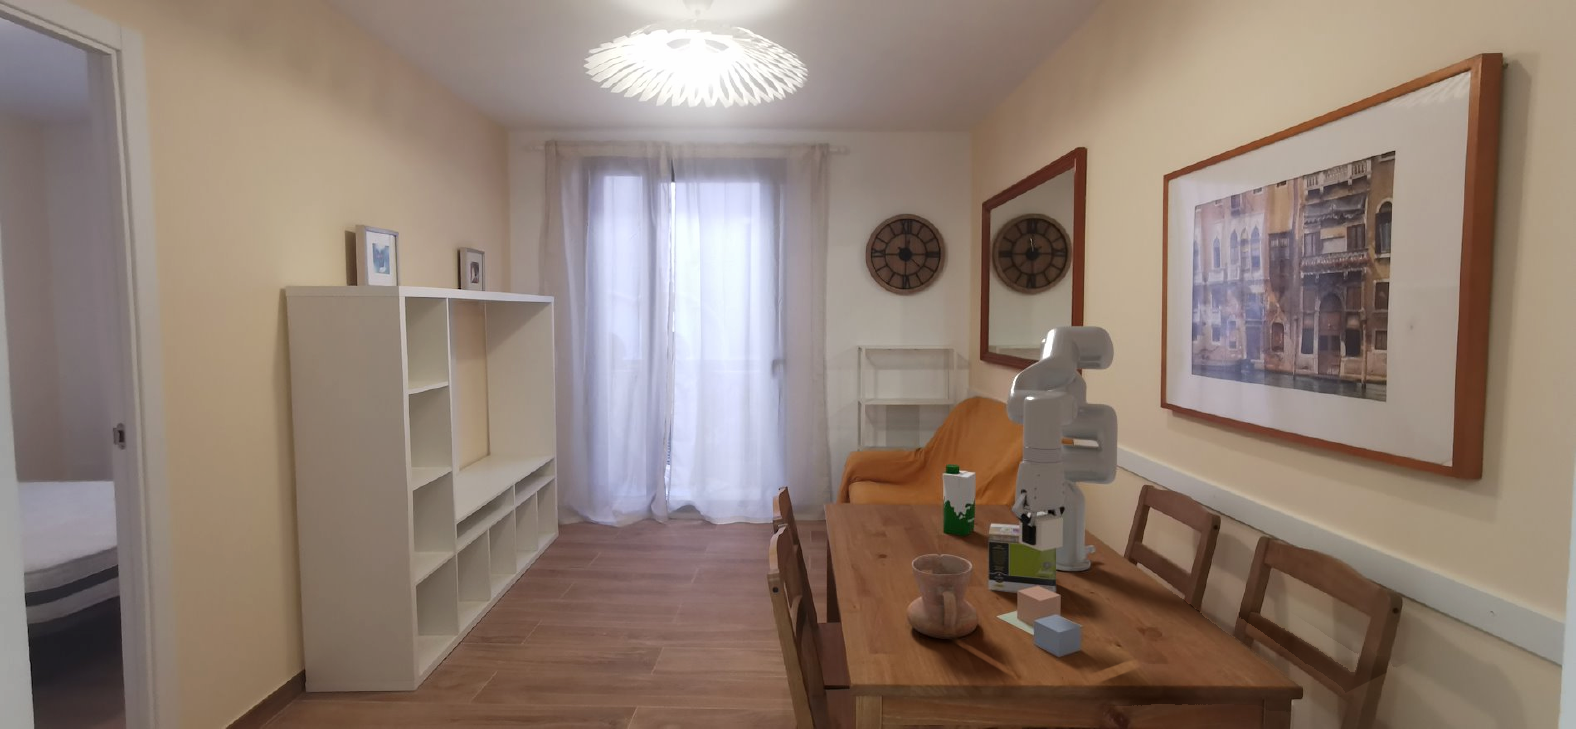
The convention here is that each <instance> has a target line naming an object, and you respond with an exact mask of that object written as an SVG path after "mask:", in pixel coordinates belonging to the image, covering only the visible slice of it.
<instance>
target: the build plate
mask: <svg viewBox="0 0 1576 729" xmlns="http://www.w3.org/2000/svg"><path fill="white" fill-rule="evenodd" d="M995 617H996V618H998V619H1000V620H1002V621H1004V622H1005V623H1008V624H1010V625H1012V626H1014V627H1016V628H1018V629H1020V630H1022V631H1024V632H1026V633H1028V634H1030V635H1032V636H1034V627H1033V626H1031V625H1029V624H1027V623H1025V622H1023V621H1021V620H1019V619H1017V610H1014V611H1011V612H1007V613H1003V614H1000V615H997V616H995ZM1064 618H1065V617H1064ZM1065 619H1067V618H1065ZM1067 620H1069V621H1071V620H1070V619H1067ZM1075 623H1076V622H1075ZM1076 624H1078V623H1076ZM1078 625H1080V626H1081V628H1082V627H1083V626H1082V625H1081V624H1078Z"/></svg>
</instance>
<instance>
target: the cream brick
mask: <svg viewBox="0 0 1576 729" xmlns="http://www.w3.org/2000/svg"><path fill="white" fill-rule="evenodd" d="M1030 514H1031V513H1029V512H1028V515H1027V516H1028V517H1029V518H1030ZM1018 520H1019V519H1018ZM1018 525H1019V543H1021V544H1024V545H1026V546H1029V547H1032V548H1035V549H1037V550H1040V551H1044V550H1049V549H1053V548H1058V547H1062V543H1063V518H1062V517H1059V516H1055V515H1052V514H1049V513H1046V511H1042V512H1037V516H1036V519H1035V522H1034V526H1036V545H1030V544H1027V543H1024V542H1022V523H1020V520H1019V523H1018Z"/></svg>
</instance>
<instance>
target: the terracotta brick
mask: <svg viewBox="0 0 1576 729" xmlns="http://www.w3.org/2000/svg"><path fill="white" fill-rule="evenodd" d="M1061 598H1062V596H1061V594H1059V593H1057V592H1056V593H1054V592H1052V591H1049V590H1047V589H1045V588H1042V587H1040V586H1035V587H1031V588H1027V589H1023V590H1019V591H1018V593H1017V604H1016V605H1017V606H1016V608H1017V609H1016V611H1017V619H1019V620H1021V621H1023V622H1025V623H1027V624H1029V625H1031V626H1033V627H1034V620H1038V619H1041V618H1045V617H1048V616H1052V615H1055V614H1056V615H1058V616H1061V604H1062V603H1061V601H1062V599H1061Z"/></svg>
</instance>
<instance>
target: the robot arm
mask: <svg viewBox="0 0 1576 729" xmlns="http://www.w3.org/2000/svg"><path fill="white" fill-rule="evenodd" d="M1039 344H1040V345H1039V354H1040V356H1039V360H1038V361H1037V362H1035V363H1033V364H1031V365H1029V366H1028V367H1026V368H1025V369H1024V370H1022V371H1021V372H1019V373H1018V374H1017V375H1016V376H1015V377H1014V378H1013V380H1012V382H1011V385H1010V389H1009V392H1008V395H1007V400H1006V406H1005V407H1006V410H1005V411H1006V415H1007V418H1008V419H1009V420H1010V421H1011V422H1013V423H1014V424H1016V425H1017V424H1018V425H1023V426H1022V427H1023V429H1022V436H1023V437H1022V461H1020V462H1019V465H1018V470H1017V474H1016V475H1017V476H1016V483H1015V494H1014V495H1015V496H1014V505H1013V506H1012V508H1011V511H1012V513H1014V515H1015V516H1016V518H1017V519H1018V520H1020V523H1022V542H1024V543H1027V544H1030V545H1036V526H1034V522H1035V519H1036V516H1037V512H1045V513H1049V514H1052V515H1055V516H1059V517H1062V518H1063V543H1062V547H1058V548H1056V571H1058V570H1059V571H1063V572H1064V571H1066V572H1081V571H1086V570H1088V569H1090V568H1091V560H1090V559H1089V558H1087V556H1088V554H1092V553H1095V552H1096V547H1095V545H1093V544H1091V545H1085V544H1086V542H1085V541H1086V540H1085V539H1086V538H1085V537H1086V536H1085V534H1086V498H1085V495H1084V493H1083V491H1082V489H1080V487H1079V486H1078V485H1077V483H1085V484H1094V485H1095V484H1096V485H1110V484H1112V483H1113V482H1114V481H1115V479H1116V476H1117V470H1118V468H1117V467H1118V429H1119V428H1118V416H1117V412H1116V410H1115V409H1114V407H1112V406H1111V405H1109V404H1104V403H1089V402H1088V401H1087V382H1086V381H1085V379H1084V377H1083V376H1082V375H1081V373H1080V372H1079V371H1078V370H1095V371H1096V370H1107V369H1108V368H1110V366H1111V365H1112V363H1113V361H1114V355H1115V350H1114V344H1113V340H1112V338H1111V336H1110V334H1109V333H1108V331H1107V330H1106V329H1104V328H1103V327H1100V326H1095V325H1094V326H1092V325H1091V326H1089V325H1088V326H1087V325H1086V326H1085V325H1083V326H1082V325H1080V326H1079V325H1077V326H1074V325H1071V326H1070V325H1069V326H1068V325H1066V326H1065V325H1064V326H1058V327H1057V326H1056V327H1054V328H1052V329H1050V330H1049V331H1048V332H1047V333H1046V335H1045V337H1044V338H1043V339H1042V340H1040V343H1039ZM1063 439H1067V440H1078V441H1092V442H1095V443H1096V444H1097V446H1096V445H1095V446H1094V445H1086V444H1085V445H1083V444H1071V443H1062V441H1063ZM1028 513H1031V514H1030V518H1029V517H1028V516H1027V515H1028Z"/></svg>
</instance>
